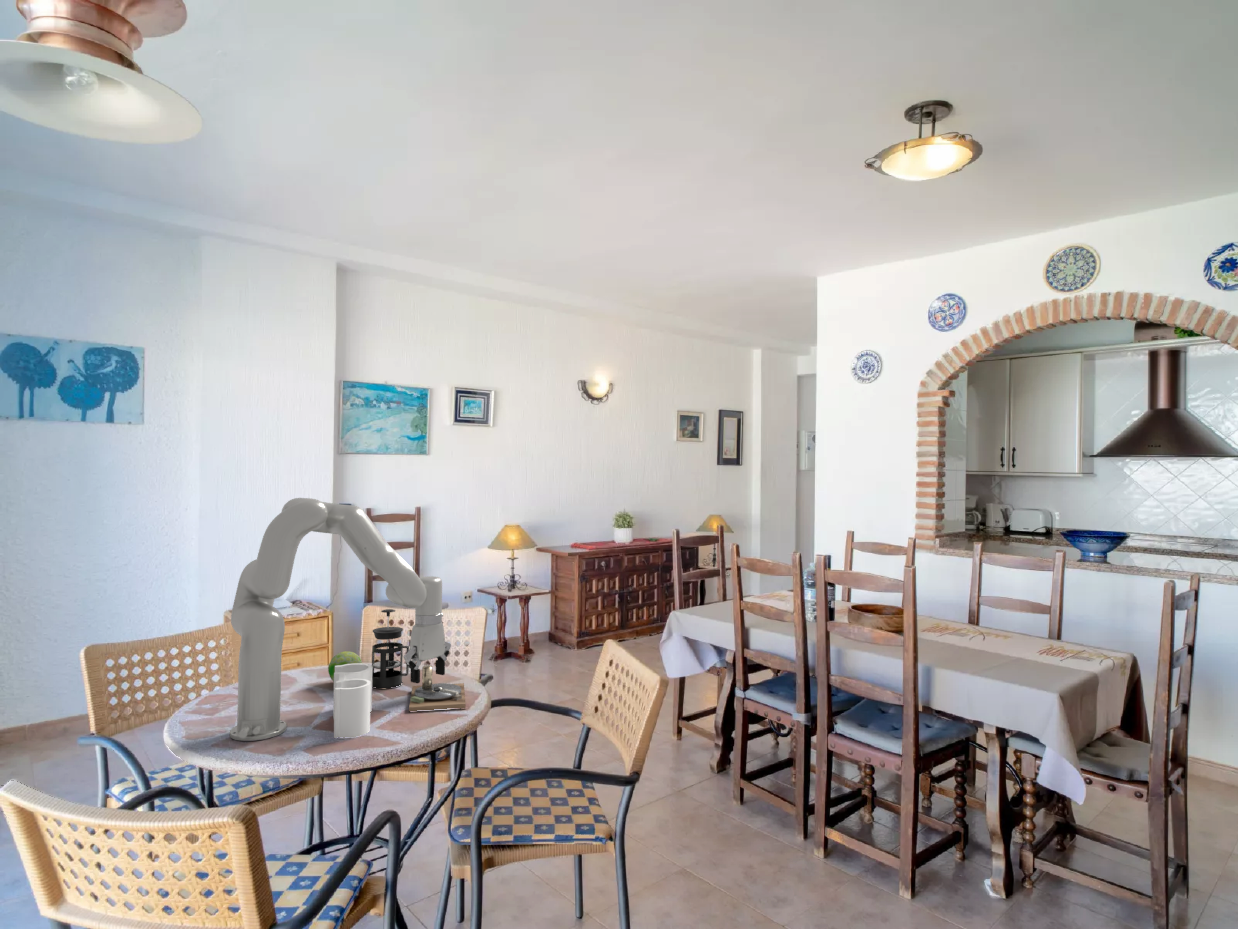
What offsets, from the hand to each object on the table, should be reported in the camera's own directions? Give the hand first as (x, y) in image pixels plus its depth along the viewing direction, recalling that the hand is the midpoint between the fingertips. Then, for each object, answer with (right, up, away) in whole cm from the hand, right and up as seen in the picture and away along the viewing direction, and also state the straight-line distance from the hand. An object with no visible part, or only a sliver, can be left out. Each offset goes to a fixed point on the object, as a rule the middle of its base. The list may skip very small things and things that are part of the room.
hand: (427, 678), depth 205 cm
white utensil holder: (-14, -5, -21) cm, 26 cm away
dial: (+4, -4, -3) cm, 6 cm away
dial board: (+4, -5, -3) cm, 7 cm away
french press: (-15, -6, +11) cm, 20 cm away
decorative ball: (-29, -5, +11) cm, 31 cm away
